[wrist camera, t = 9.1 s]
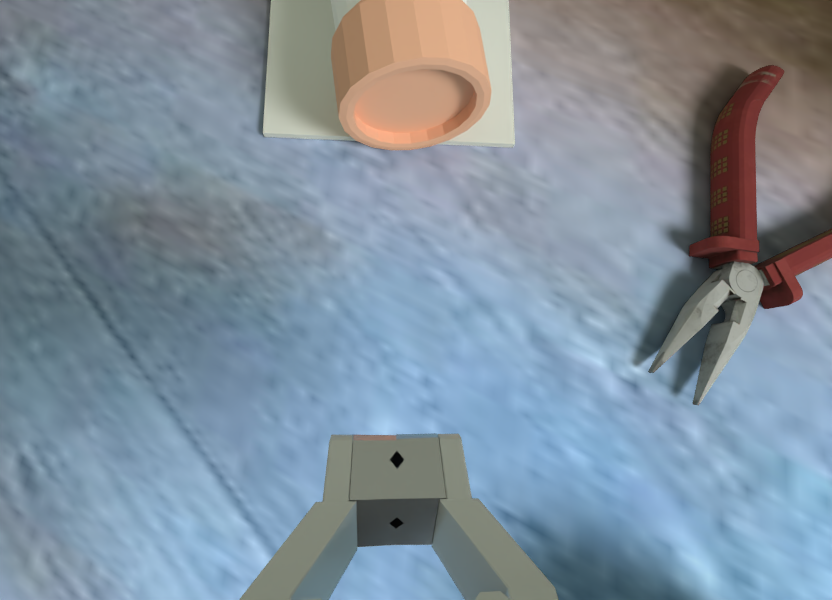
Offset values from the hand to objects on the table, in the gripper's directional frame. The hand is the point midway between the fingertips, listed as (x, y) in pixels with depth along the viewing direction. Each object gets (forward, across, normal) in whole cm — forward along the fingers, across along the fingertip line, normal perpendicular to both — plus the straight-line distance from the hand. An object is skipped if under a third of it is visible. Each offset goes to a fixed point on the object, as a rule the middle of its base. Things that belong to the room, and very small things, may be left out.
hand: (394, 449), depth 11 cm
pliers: (+17, -21, +1) cm, 27 cm away
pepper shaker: (+16, -1, -4) cm, 16 cm away
